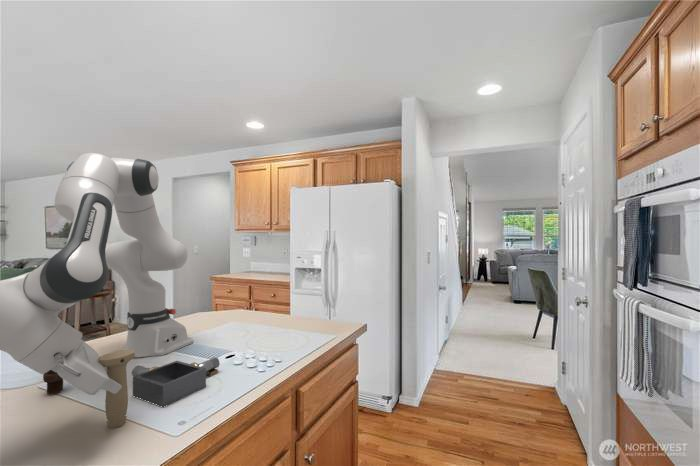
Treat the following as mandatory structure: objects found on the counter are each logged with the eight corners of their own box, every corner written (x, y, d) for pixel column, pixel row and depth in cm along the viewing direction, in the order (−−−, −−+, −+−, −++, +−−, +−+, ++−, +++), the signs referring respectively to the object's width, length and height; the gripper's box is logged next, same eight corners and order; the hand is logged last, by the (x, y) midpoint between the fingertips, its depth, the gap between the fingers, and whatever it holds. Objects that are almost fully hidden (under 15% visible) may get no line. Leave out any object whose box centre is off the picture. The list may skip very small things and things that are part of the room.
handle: (94, 428, 70) (94, 357, 70) (127, 414, 75) (127, 348, 75) (104, 436, 67) (104, 361, 67) (138, 421, 73) (138, 352, 73)
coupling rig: (183, 362, 106) (183, 347, 106) (230, 375, 97) (230, 357, 97) (113, 389, 88) (113, 370, 88) (162, 407, 78) (162, 386, 78)
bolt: (50, 399, 83) (51, 338, 83) (34, 397, 84) (35, 337, 84) (74, 388, 88) (74, 331, 88) (59, 386, 89) (59, 330, 89)
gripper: (73, 347, 59) (138, 385, 65) (67, 324, 74) (120, 357, 80) (38, 380, 55) (110, 417, 62) (39, 349, 71) (96, 381, 77)
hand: (115, 383), depth 71 cm, fingers open, 6 cm apart
